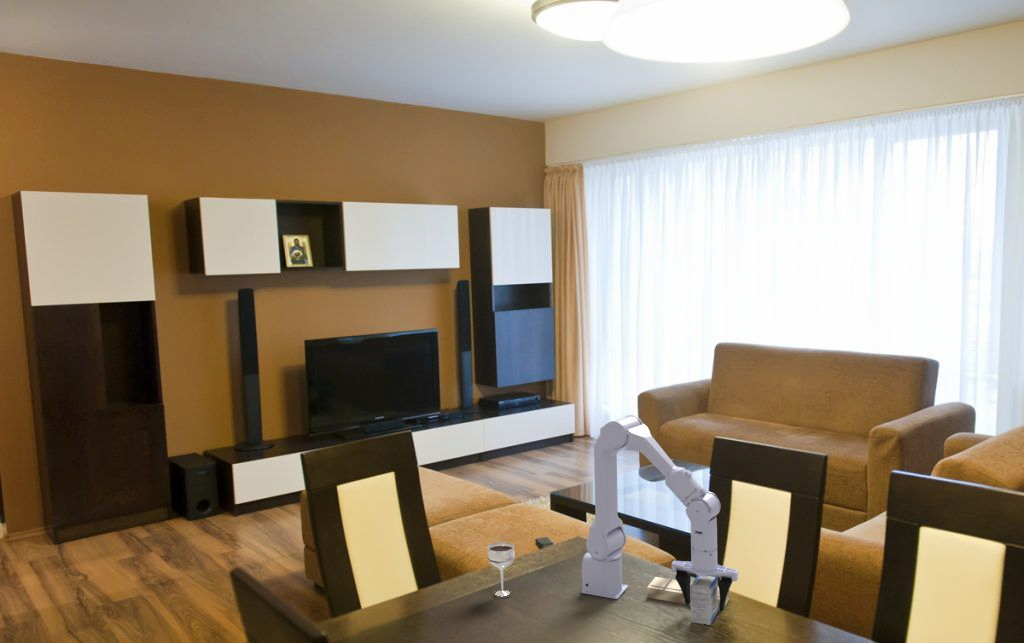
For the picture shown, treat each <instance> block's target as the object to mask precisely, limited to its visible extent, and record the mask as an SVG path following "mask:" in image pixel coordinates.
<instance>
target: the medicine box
mask: <svg viewBox="0 0 1024 643" xmlns="http://www.w3.org/2000/svg"><path fill="white" fill-rule="evenodd" d="M718 583H719V581H718V577H711V576H698V575H696V577H695V579H694V580H693V582H692V585H691V586H690V599H691V605H690V622H691V623H694V624H698V623H699V625H704V624H706V625H705V626H709V625H710V626H711V625H712V623H713V621H714V620H715V618H716V616H717V614H718V613H719V610H718V587H719V585H718Z"/></svg>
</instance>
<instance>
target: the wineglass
mask: <svg viewBox="0 0 1024 643" xmlns="http://www.w3.org/2000/svg"><path fill="white" fill-rule="evenodd" d="M514 549H515V545H514V544H513V543H511V542H506V541H498V542H493V543H490V544H489V545H488V546H487V550H488V552H487V560H488V562H489V564H491V565H492V566H493V567H494V568H497V569H498V570H499V573H500V587H501V591H500V590H497V592H496V591H495V592H496V593H495V595H497V596H501V597H503V596H507V595H509V594H510V592H511V591H510V592H509V590H506V589H505V590H506V591H505V590H504V571H505V569H506V568H508V567H509V566H511V564H513V563H514V561H515V558H516V553H515V550H514Z"/></svg>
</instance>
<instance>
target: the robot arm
mask: <svg viewBox="0 0 1024 643" xmlns="http://www.w3.org/2000/svg"><path fill="white" fill-rule="evenodd" d="M599 430H600V432H599V436H598V437H597V440H595V443H594V446H593V453H594V454H593V455H594V456H593V460H594V464H593V465H594V470H593V471H594V504H595V505H594V506H595V507H594V508H595V509H594V510H595V513H594V514H595V516H594V519H593V521H592V523H591V524H590V526H589V529H588V530H589V531H588V533H589V535H588V536H587V539H586V542H585V543H586V544H585V545H586V549H587V552H586V553H585V554H584V555H583V559H582V563H581V579H582V580H581V582H582V583H581V586H582V589H581V593H582V594H584V595H585V594H586V595H591V596H596V597H597V596H598V597H603V598H607V599H608V598H609V599H612V600H613V599H614V600H618V599H619V598H620V597H621V596H622V595H623V593H625V591H626V590H627V589H628V588H629V585H628V584H623V562H622V561H623V560H622V559H623V558H622V556H623V555H622V553H623V548H624V547H625V545H626V543H627V534H626V532H625V529H624V524H623V523H624V522H623V520H622V519H621V518H620V517H619V515H618V510H619V509H618V507H619V506H618V460H617V457H618V456H617V455H618V453H619V452H620V451H621V450H623V449H624V450H627V451H634V452H639V453H641V454H642V455H643V456H644V457H645V458H646V459H647V460H648V461H649V463H651V464H652V465H653V466H654V467H655V468H656V469H657V470H658V471H659V472H660V473H661V474H662V475H663V476H664V478H665V480H664V481H665V485H666V487H667V488H668V489H669V490H670V491H671V492H672V493H673V494H674V495H675V497H676V498H677V499H678V500H679V501H680V502H681V504H682V505H683V506H685V513H686V514H685V515H686V516H687V518H688V519H689V521H690V553H691V554H690V556H691V557H690V558H691V559H690V560H691V561H688V560H687V561H685V560H684V561H683V560H682V561H681V560H673V561H672V563H671V572H673V573H676V574H675V580H677V582H678V584H679V586H680V588H681V590H682V593H683V596H684V599H685V604H684V605H685V606H690V605H689V604H690V602H691V599H690V582H691V577H692V574H694V575H695V576H711V577H717V579H719V581H718V587H719V594H720V604H719V609H720V610H719V611H720V612H724V611H725V608H726V606H725V602H726V597H727V594H728V591H729V592H730V588H731V586H732V584H733V582H737V581H738V580H739V570H738V569H734V568H730V567H726V566H723V565H720V564H718V522H717V518H718V517H717V515H718V514H719V513H720V511H721V502H720V499H719V498H718V496H717V494H715V493H714V492H711V491H709V490H708V491H707V489H706V488H705V487H702V485H701V484H700V483H699V482H698V481H697V480H696V479H695V478H694V477H693V476H692V475H693V473H692V471H691V470H690V469H687V468H685V467H683V466H682V467H681V466H677V465H676V464H675V463H674V461H672V459H671V458H670V457H669V456H668V455H667V453H666V452H665V451H664V449H663V447H661V446H660V444H659V443H658V442H657V441H656V440H655V438H654V437H653V436H652V434H651V431H650V429H649V427H648V426H647V425H646V424H645V423H643V421H642V420H641V418H639V417H638V416H636V415H633V414H630V415H626V416H624V417H622V418H619V419H615V420H611V421H609V422H607V423H605V425H603V426H601V427H600V429H599Z"/></svg>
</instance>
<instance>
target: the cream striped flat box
mask: <svg viewBox="0 0 1024 643" xmlns="http://www.w3.org/2000/svg"><path fill="white" fill-rule="evenodd" d="M692 583H693V582H691V581H690V586H691V585H692ZM646 590H647V591H646V596H647V598H648V599H649V598H650V599H653V600H654V599H655V600H660V601H666V602H672V603H678V604H683V605H686V604H685V599H684V596H683V593H682V590H681V588H680V586H679V584H678V582H677V580H676V579H673V578H667V577H666V578H665V577H661V576H660V577H658V576H655V577H654V578H653V579H652V581H651V582H650V583H649V584H648V585H647V587H646ZM729 600H730V590H729V591H728V594H727V597H726V602H725V607H726V606H727V604H728V602H729ZM719 604H720V594H719V586H718V611H720V609H719ZM688 606H691V602H690V604H689V605H688Z"/></svg>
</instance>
